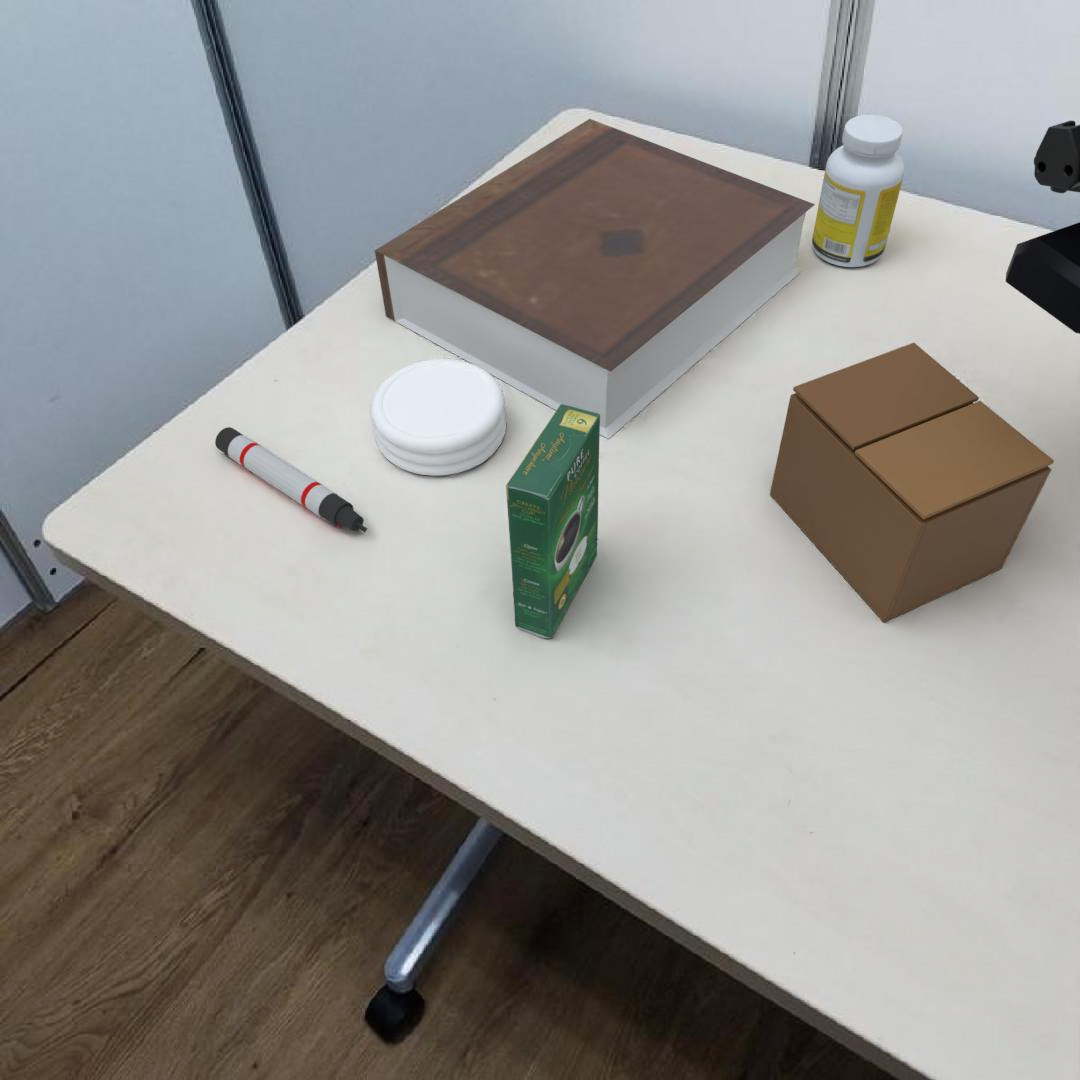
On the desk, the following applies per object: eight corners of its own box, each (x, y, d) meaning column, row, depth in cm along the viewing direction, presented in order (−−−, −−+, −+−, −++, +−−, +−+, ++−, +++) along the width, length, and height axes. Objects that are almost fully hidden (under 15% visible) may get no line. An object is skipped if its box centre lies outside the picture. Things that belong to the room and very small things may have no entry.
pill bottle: (887, 236, 94) (919, 114, 85) (878, 276, 90) (911, 152, 81) (816, 225, 95) (840, 104, 86) (804, 263, 91) (828, 141, 82)
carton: (1001, 568, 68) (1056, 461, 60) (883, 622, 65) (924, 517, 57) (879, 450, 75) (914, 341, 68) (769, 494, 73) (792, 386, 65)
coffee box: (562, 541, 70) (559, 397, 60) (600, 553, 69) (604, 410, 60) (511, 627, 66) (500, 487, 56) (552, 642, 65) (547, 502, 55)
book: (386, 316, 88) (374, 250, 83) (589, 182, 101) (589, 118, 96) (608, 439, 77) (610, 371, 72) (802, 270, 90) (815, 204, 85)
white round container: (350, 453, 77) (342, 419, 74) (420, 376, 82) (415, 341, 80) (464, 496, 73) (460, 461, 71) (529, 412, 79) (527, 377, 76)
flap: (1052, 464, 60) (1054, 460, 60) (923, 519, 58) (924, 516, 57) (979, 403, 64) (980, 400, 64) (854, 453, 62) (855, 450, 61)
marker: (219, 455, 77) (211, 436, 75) (239, 441, 78) (232, 421, 76) (360, 549, 70) (355, 530, 69) (380, 532, 71) (376, 513, 70)
